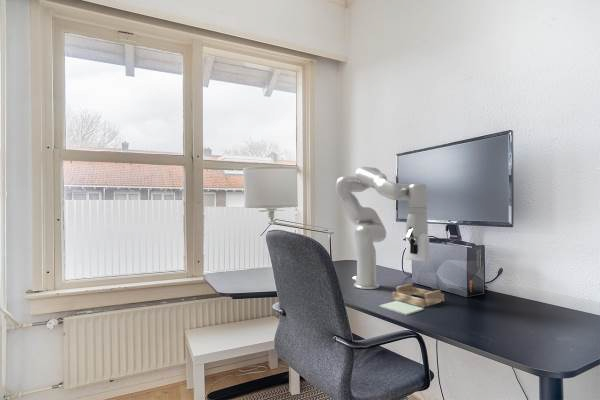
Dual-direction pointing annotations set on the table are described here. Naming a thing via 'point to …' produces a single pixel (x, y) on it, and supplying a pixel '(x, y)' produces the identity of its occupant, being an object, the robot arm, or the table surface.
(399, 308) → the green mat
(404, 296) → the tray
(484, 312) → the table surface
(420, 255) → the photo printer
